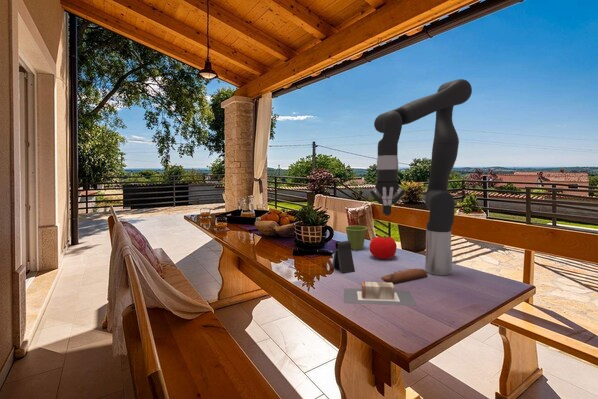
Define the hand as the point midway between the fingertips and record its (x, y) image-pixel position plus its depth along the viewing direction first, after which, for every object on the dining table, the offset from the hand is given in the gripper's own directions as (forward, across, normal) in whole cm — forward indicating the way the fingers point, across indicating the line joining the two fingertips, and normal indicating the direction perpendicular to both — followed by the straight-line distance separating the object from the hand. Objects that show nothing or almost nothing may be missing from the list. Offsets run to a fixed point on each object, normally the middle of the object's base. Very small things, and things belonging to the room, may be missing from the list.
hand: (386, 215), depth 117 cm
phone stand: (+25, +16, -12) cm, 32 cm away
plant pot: (+25, +9, -47) cm, 54 cm away
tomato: (+25, -3, -31) cm, 40 cm away
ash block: (+22, 0, +17) cm, 28 cm away
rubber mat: (+25, +5, +17) cm, 31 cm away
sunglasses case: (+26, -6, -2) cm, 26 cm away
